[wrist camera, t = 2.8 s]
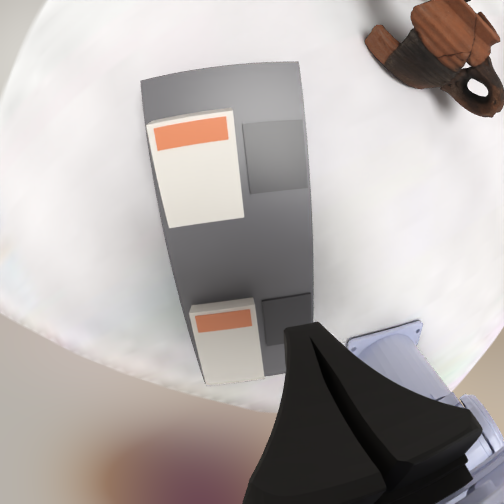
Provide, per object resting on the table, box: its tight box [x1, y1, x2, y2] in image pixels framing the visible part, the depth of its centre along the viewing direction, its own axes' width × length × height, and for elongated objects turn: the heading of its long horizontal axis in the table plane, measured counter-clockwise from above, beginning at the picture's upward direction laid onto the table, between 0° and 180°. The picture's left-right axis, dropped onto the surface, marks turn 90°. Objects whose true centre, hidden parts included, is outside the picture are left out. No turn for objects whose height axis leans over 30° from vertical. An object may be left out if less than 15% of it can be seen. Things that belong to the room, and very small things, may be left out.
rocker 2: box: [189, 297, 265, 386], centre depth 17 cm, size 5×4×2 cm
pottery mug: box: [365, 0, 504, 117], centre depth 12 cm, size 12×10×8 cm
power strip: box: [141, 62, 313, 384], centre depth 17 cm, size 20×8×3 cm, turn 6°
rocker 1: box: [146, 108, 244, 228], centre depth 13 cm, size 5×4×2 cm
